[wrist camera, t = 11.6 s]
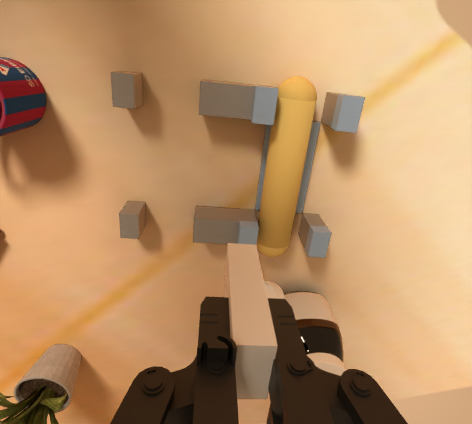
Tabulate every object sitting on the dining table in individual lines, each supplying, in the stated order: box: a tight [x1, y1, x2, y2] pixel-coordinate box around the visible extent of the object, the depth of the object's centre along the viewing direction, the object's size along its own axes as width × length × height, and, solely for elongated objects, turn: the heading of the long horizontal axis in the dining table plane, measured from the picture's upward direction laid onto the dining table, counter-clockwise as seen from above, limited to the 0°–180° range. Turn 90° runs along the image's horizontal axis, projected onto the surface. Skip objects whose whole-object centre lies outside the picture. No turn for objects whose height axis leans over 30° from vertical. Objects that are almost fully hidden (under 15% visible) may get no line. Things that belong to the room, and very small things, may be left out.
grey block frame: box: [111, 71, 365, 258], centre depth 34 cm, size 17×23×5 cm
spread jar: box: [264, 281, 346, 376], centre depth 40 cm, size 12×11×12 cm
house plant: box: [0, 344, 81, 424], centre depth 39 cm, size 14×14×16 cm
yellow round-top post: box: [257, 77, 317, 257], centre depth 35 cm, size 20×4×4 cm, turn 175°
